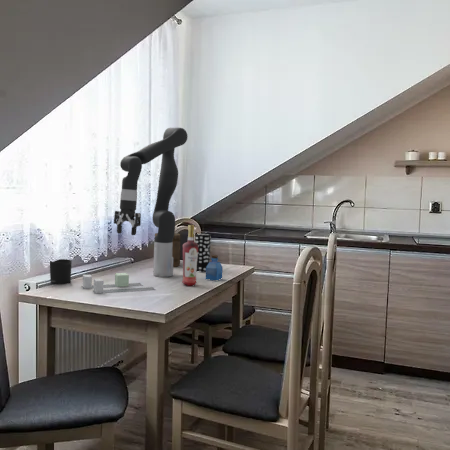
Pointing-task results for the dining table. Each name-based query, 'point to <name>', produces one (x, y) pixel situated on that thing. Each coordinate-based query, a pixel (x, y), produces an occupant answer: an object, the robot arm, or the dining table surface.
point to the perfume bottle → (214, 269)
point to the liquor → (190, 259)
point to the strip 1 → (88, 285)
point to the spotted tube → (203, 251)
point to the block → (121, 279)
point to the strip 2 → (99, 289)
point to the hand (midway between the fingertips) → (126, 234)
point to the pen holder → (60, 271)
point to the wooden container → (175, 249)
